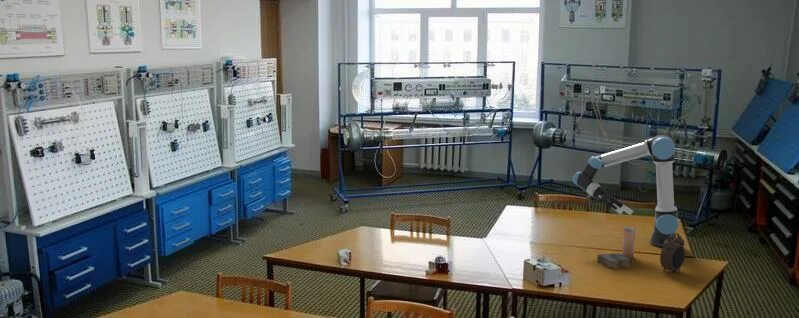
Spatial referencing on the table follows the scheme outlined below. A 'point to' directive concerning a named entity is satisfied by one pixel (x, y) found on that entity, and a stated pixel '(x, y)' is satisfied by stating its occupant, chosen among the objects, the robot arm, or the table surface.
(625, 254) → the canister
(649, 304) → the table surface
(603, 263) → the base stand
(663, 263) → the alarm clock
